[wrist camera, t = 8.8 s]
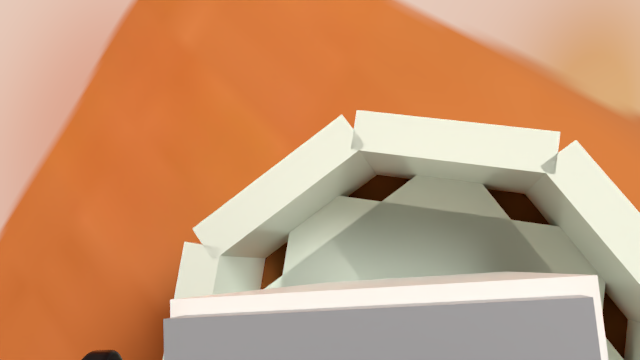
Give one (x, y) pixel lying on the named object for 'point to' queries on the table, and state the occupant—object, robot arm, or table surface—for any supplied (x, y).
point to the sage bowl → (423, 213)
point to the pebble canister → (397, 320)
